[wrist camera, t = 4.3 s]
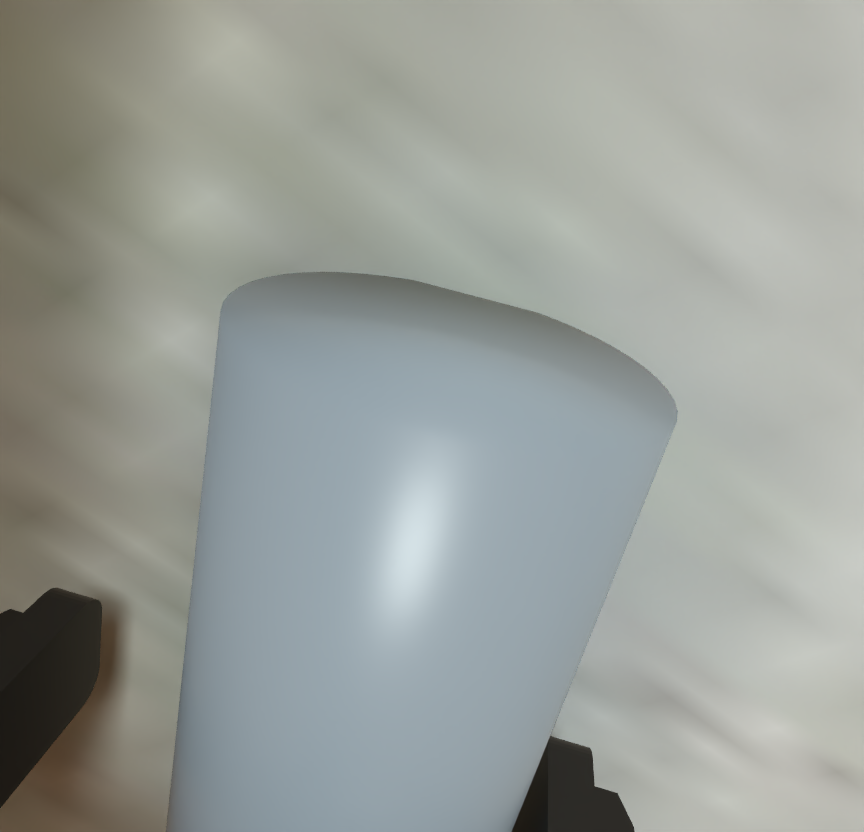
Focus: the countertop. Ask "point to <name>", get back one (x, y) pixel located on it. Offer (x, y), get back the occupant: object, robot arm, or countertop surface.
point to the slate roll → (398, 553)
